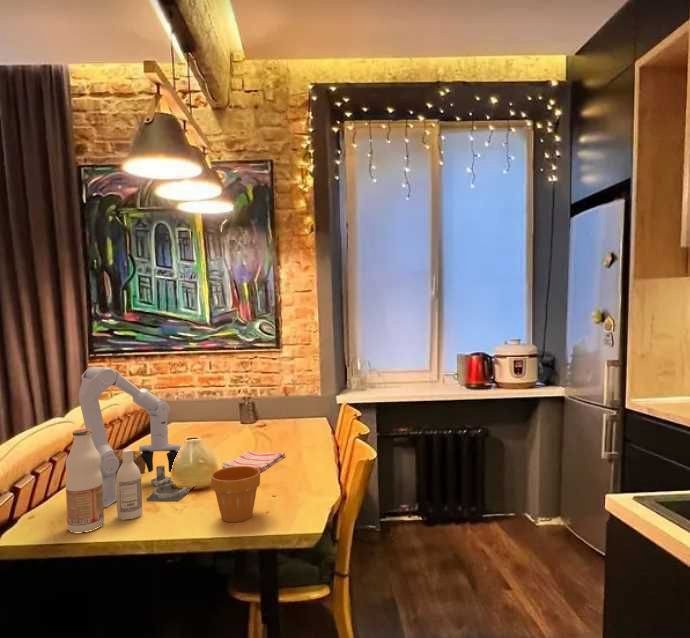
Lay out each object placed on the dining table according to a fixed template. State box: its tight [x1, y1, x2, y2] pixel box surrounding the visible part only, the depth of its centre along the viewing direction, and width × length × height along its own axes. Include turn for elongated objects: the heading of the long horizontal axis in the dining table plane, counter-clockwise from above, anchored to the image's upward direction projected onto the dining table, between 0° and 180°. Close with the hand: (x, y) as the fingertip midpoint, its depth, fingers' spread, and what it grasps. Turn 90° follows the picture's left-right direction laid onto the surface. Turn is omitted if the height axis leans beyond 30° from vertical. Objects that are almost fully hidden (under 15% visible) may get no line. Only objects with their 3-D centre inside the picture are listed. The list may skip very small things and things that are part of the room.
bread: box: [113, 449, 146, 476], centre depth 196 cm, size 19×11×10 cm, turn 86°
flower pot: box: [210, 466, 261, 523], centre depth 153 cm, size 14×14×13 cm
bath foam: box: [116, 448, 143, 520], centre depth 155 cm, size 7×7×20 cm
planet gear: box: [150, 465, 172, 488], centre depth 186 cm, size 7×7×6 cm
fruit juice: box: [65, 428, 105, 532], centre depth 148 cm, size 9×9×28 cm
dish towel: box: [221, 451, 286, 474], centre depth 207 cm, size 17×23×4 cm
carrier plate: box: [145, 480, 191, 502], centre depth 175 cm, size 15×11×4 cm
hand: (160, 471), depth 186 cm, fingers open, 7 cm apart
